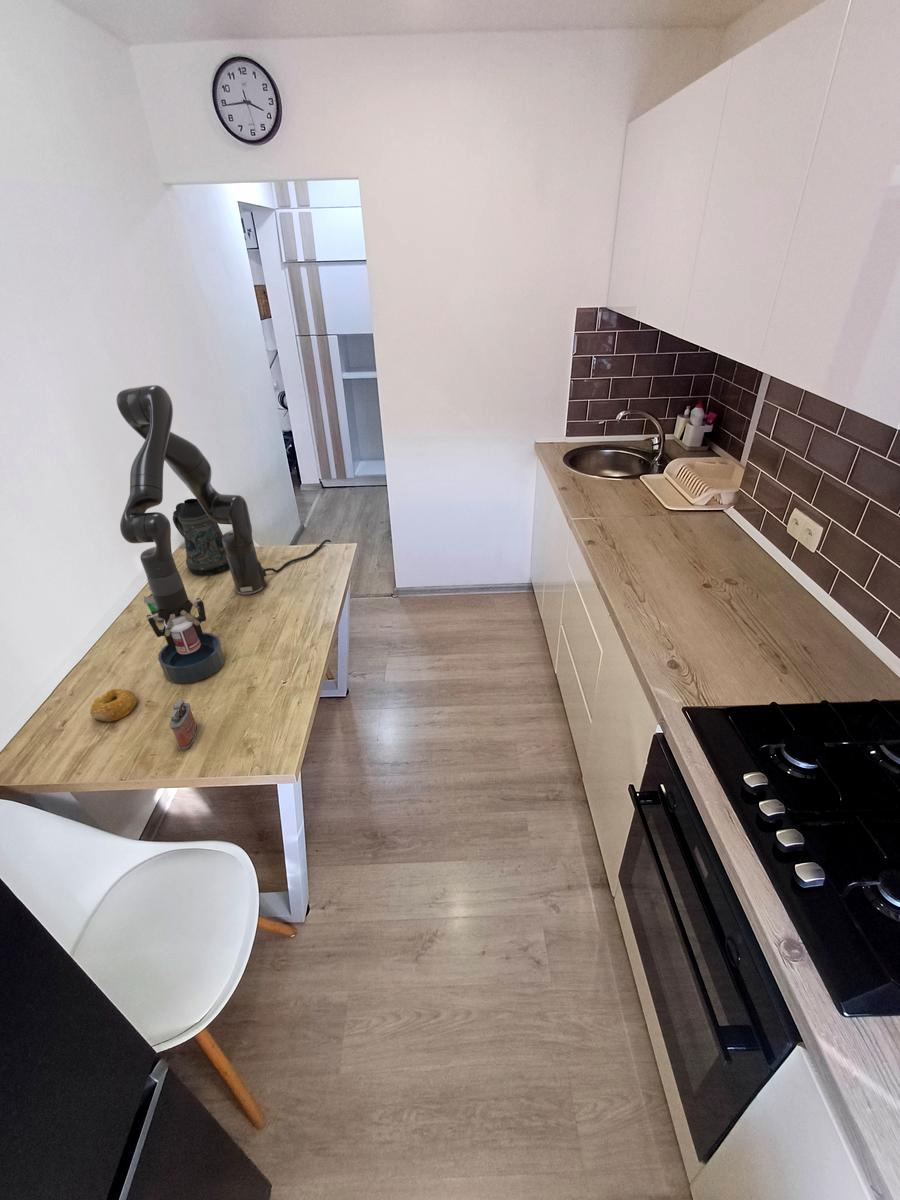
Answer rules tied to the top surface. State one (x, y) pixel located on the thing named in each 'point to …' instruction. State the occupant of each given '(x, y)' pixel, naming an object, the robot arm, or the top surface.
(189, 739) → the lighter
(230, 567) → the robot arm
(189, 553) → the beer stein
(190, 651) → the pill bottle
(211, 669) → the bowl
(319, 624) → the top surface
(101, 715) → the bagel
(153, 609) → the food container
